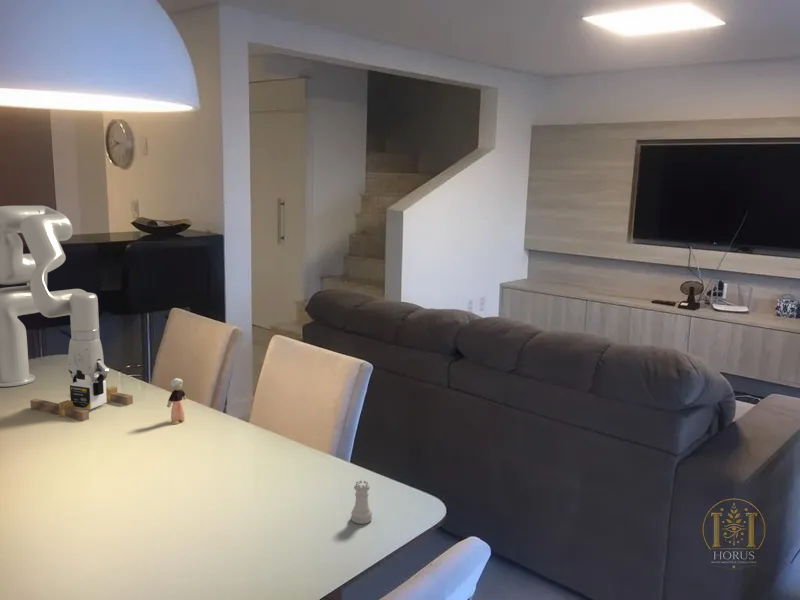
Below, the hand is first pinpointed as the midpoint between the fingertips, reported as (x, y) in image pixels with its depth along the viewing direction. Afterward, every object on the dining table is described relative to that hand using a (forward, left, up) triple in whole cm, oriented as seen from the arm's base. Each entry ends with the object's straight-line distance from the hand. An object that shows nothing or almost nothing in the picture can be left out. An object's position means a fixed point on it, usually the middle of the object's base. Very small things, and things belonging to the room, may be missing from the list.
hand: (88, 392), depth 205 cm
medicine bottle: (0, 0, -4) cm, 4 cm away
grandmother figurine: (+31, +4, -5) cm, 32 cm away
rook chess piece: (+105, -22, -5) cm, 108 cm away
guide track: (-3, 0, -5) cm, 6 cm away
